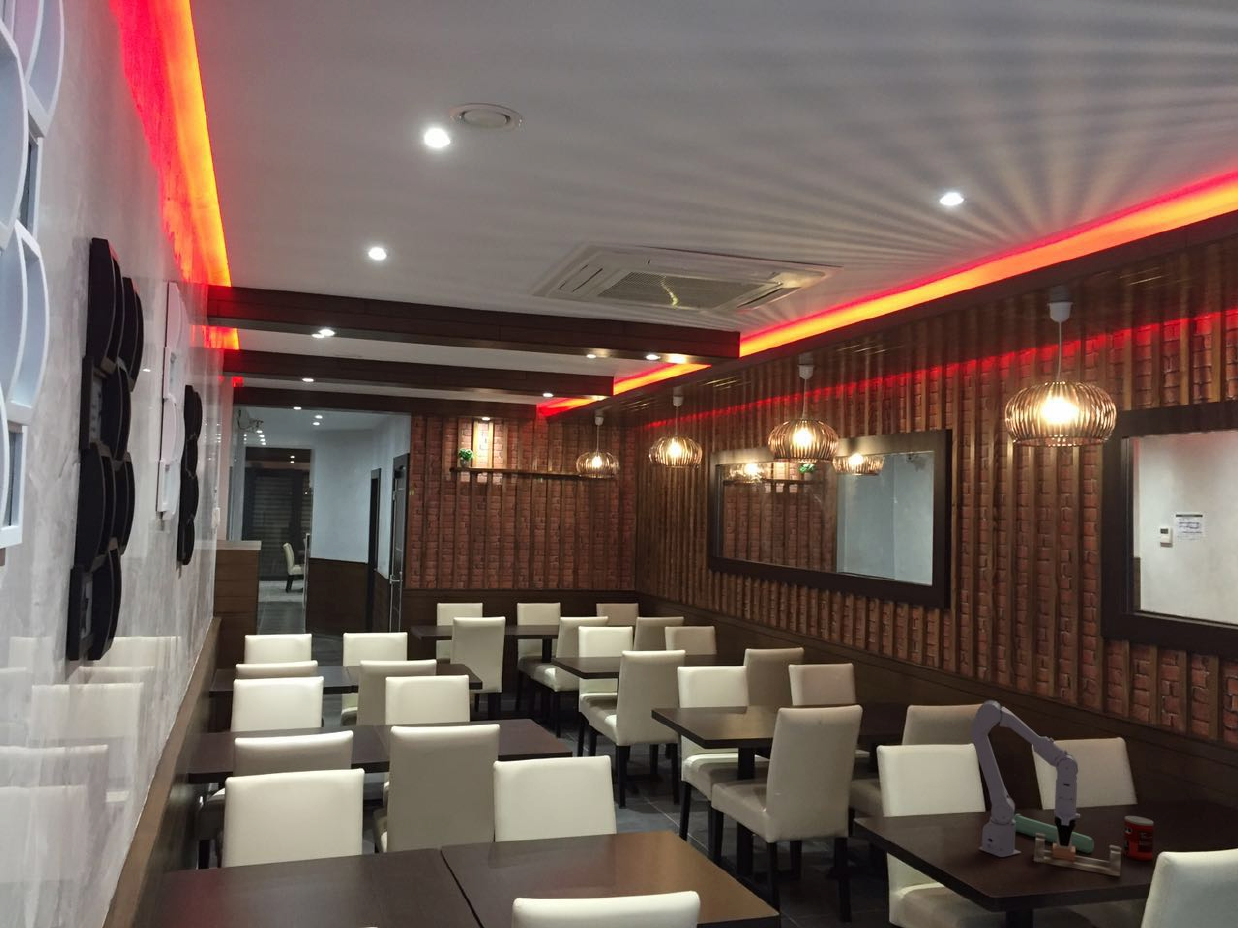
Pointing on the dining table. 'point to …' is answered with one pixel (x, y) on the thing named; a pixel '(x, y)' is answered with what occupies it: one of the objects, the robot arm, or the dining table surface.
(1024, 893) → the dining table surface
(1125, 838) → the canned food
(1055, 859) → the rail
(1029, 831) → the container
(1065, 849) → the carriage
